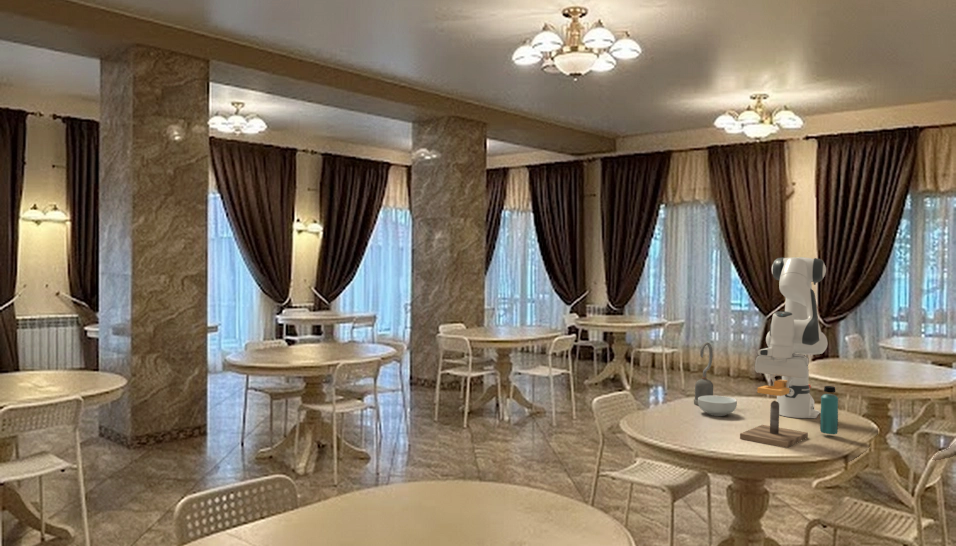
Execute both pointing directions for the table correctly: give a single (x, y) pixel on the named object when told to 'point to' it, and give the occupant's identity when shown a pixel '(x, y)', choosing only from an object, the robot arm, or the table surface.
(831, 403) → the beverage bottle
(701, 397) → the cereal bowl
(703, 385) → the hook
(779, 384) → the loop fitting
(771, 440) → the keeper board
